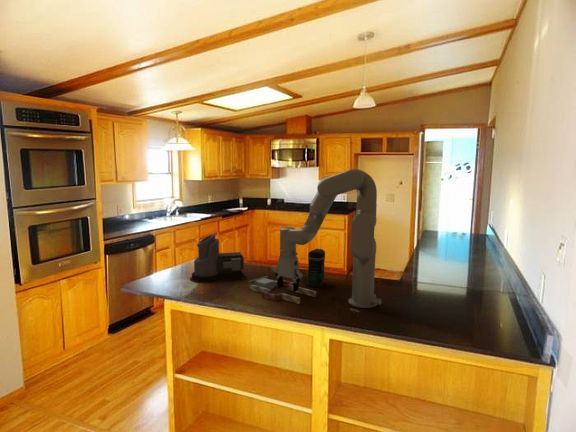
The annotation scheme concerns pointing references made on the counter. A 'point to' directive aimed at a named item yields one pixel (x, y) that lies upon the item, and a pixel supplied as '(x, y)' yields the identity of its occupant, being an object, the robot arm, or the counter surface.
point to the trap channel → (268, 293)
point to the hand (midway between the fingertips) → (287, 288)
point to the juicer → (216, 263)
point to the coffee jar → (316, 267)
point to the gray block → (265, 283)
